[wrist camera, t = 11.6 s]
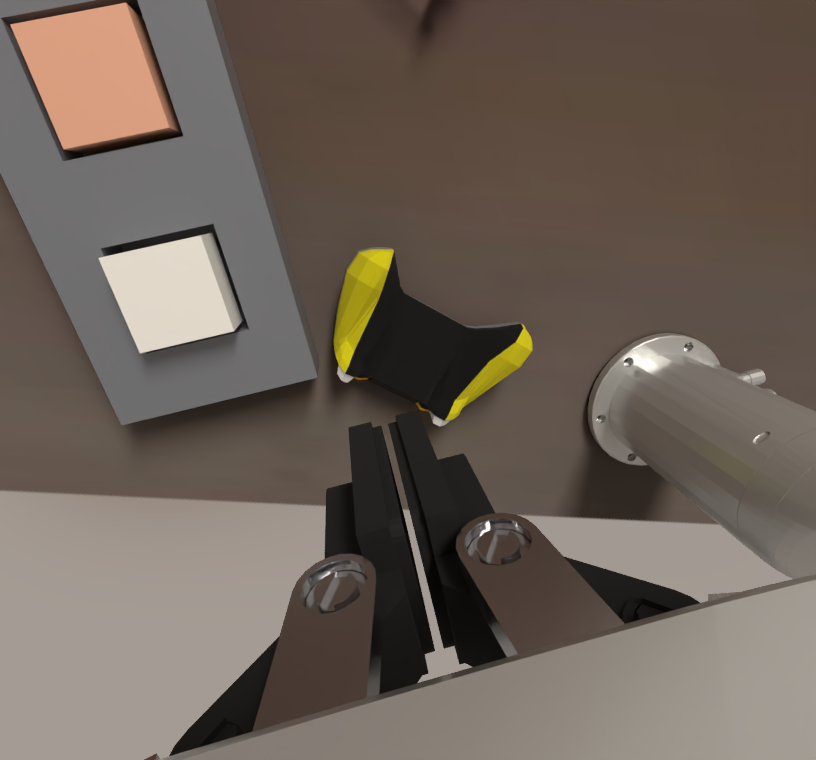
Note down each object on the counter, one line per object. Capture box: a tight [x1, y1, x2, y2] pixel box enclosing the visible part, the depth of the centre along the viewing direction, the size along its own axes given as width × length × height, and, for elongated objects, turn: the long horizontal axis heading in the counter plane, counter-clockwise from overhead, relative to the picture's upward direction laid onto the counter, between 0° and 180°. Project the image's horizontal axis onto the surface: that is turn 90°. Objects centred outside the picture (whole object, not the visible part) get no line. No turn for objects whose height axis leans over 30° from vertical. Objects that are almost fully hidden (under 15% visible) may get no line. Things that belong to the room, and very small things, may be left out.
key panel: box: [0, 0, 319, 425], centre depth 31 cm, size 14×28×4 cm, turn 12°
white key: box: [98, 233, 242, 353], centre depth 31 cm, size 6×6×3 cm
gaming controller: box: [334, 247, 533, 426], centre depth 36 cm, size 15×6×10 cm
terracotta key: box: [10, 3, 183, 154], centre depth 28 cm, size 6×6×3 cm
